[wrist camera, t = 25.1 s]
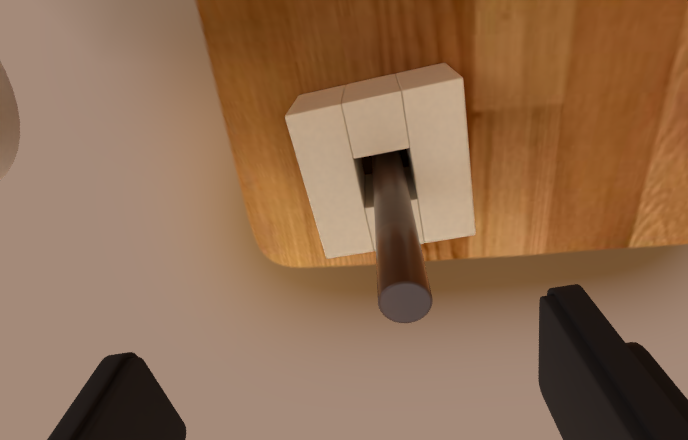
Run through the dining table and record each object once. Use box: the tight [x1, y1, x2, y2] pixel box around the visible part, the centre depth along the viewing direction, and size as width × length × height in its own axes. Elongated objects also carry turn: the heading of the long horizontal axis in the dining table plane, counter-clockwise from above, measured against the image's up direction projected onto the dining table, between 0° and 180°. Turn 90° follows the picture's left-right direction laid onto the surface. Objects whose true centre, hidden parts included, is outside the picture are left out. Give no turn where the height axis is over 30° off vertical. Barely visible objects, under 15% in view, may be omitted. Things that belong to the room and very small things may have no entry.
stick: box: [372, 150, 432, 323], centre depth 20 cm, size 2×2×15 cm
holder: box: [285, 63, 476, 259], centre depth 24 cm, size 9×9×5 cm
